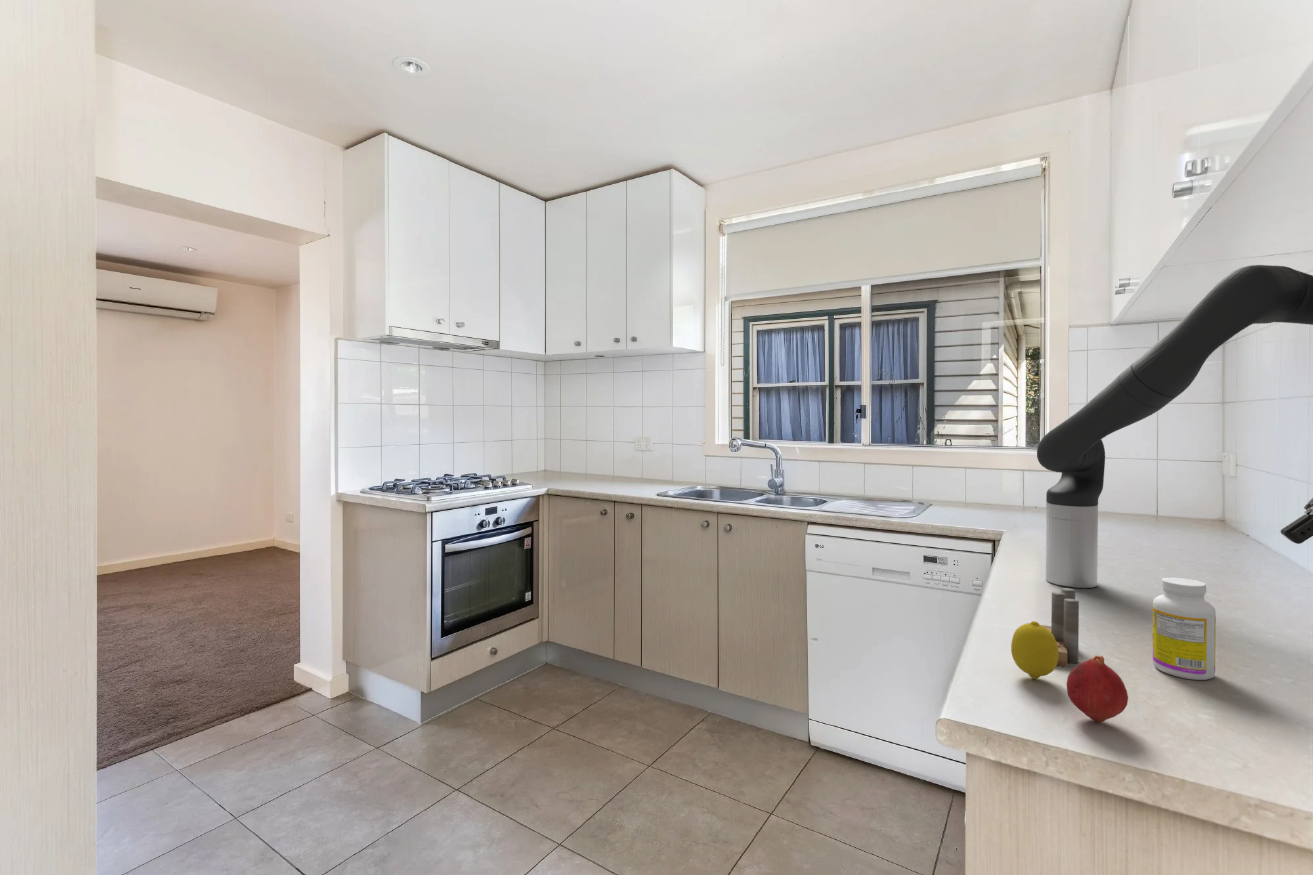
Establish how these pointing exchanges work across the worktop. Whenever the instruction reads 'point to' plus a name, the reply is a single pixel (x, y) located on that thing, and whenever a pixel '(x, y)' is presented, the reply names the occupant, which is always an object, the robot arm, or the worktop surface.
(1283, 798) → the worktop surface
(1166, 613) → the supplement bottle
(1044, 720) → the worktop surface
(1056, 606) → the pin block
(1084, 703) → the onion
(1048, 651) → the lemon
